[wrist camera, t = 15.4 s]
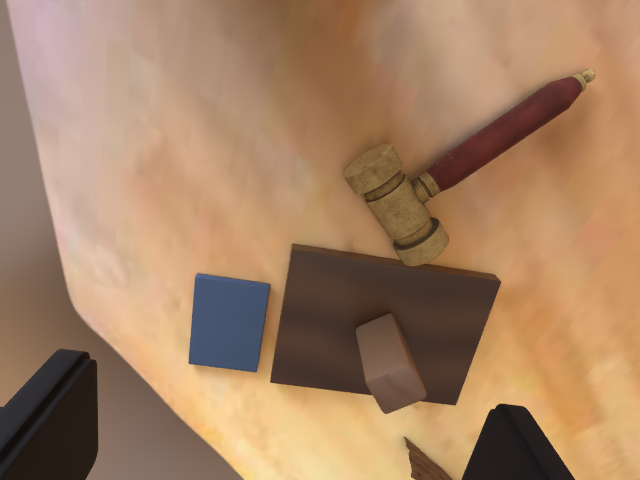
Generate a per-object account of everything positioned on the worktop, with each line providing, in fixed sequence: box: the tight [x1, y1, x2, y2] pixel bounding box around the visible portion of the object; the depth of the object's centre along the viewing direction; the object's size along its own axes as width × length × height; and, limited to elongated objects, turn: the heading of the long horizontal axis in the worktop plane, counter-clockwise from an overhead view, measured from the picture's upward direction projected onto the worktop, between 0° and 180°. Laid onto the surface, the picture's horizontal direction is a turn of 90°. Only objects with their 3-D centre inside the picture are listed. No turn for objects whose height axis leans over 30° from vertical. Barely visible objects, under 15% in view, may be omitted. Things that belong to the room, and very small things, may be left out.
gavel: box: [344, 69, 596, 266], centre depth 34 cm, size 21×5×10 cm
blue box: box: [189, 274, 270, 372], centre depth 41 cm, size 10×7×1 cm
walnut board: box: [270, 244, 501, 405], centre depth 41 cm, size 15×20×2 cm
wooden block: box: [356, 313, 426, 414], centre depth 37 cm, size 4×4×8 cm
